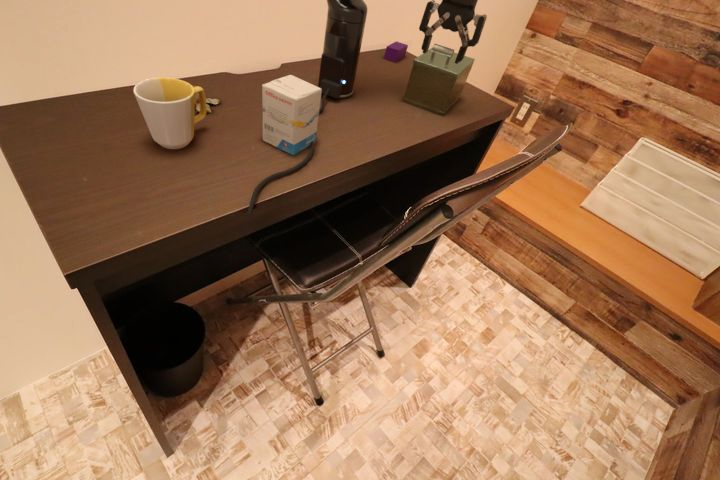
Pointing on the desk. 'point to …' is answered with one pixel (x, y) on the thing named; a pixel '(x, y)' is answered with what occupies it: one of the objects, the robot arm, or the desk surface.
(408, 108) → the desk surface
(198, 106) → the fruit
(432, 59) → the lid
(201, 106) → the mug
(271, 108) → the ink box
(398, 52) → the chocolate
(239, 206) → the desk surface
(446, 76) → the bin
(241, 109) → the desk surface
